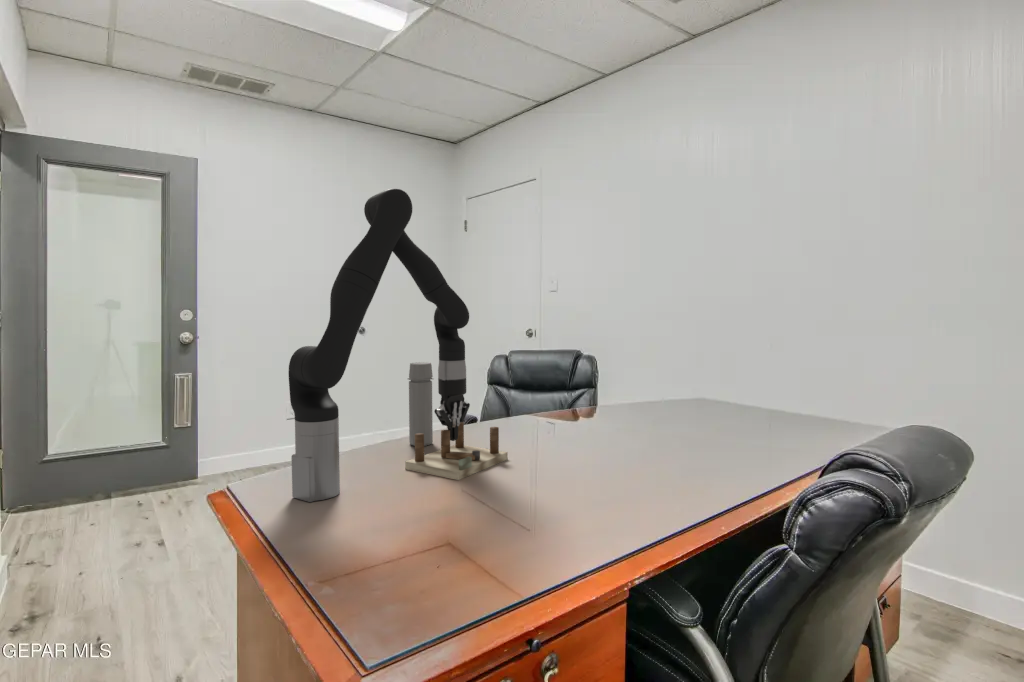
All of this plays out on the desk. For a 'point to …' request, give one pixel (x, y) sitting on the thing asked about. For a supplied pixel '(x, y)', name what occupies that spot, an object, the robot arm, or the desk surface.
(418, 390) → the water bottle
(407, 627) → the desk surface
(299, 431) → the robot arm
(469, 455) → the swing leg
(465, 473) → the stool frame
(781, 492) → the desk surface
